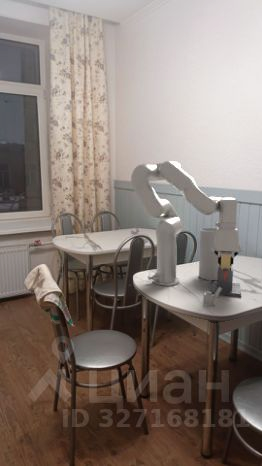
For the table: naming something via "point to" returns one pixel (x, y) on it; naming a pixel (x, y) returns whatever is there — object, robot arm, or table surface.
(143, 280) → the table surface
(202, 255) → the cylinder vase
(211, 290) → the stand base
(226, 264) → the column
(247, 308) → the table surface
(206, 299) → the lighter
